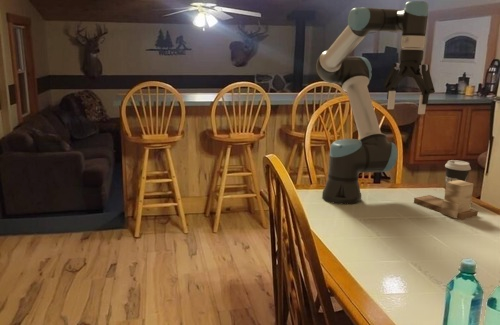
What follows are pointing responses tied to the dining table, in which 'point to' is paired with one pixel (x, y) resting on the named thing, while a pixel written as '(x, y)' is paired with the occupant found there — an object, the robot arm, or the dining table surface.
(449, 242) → the dining table surface
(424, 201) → the plank
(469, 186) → the tan block with peg
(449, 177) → the coffee cup
